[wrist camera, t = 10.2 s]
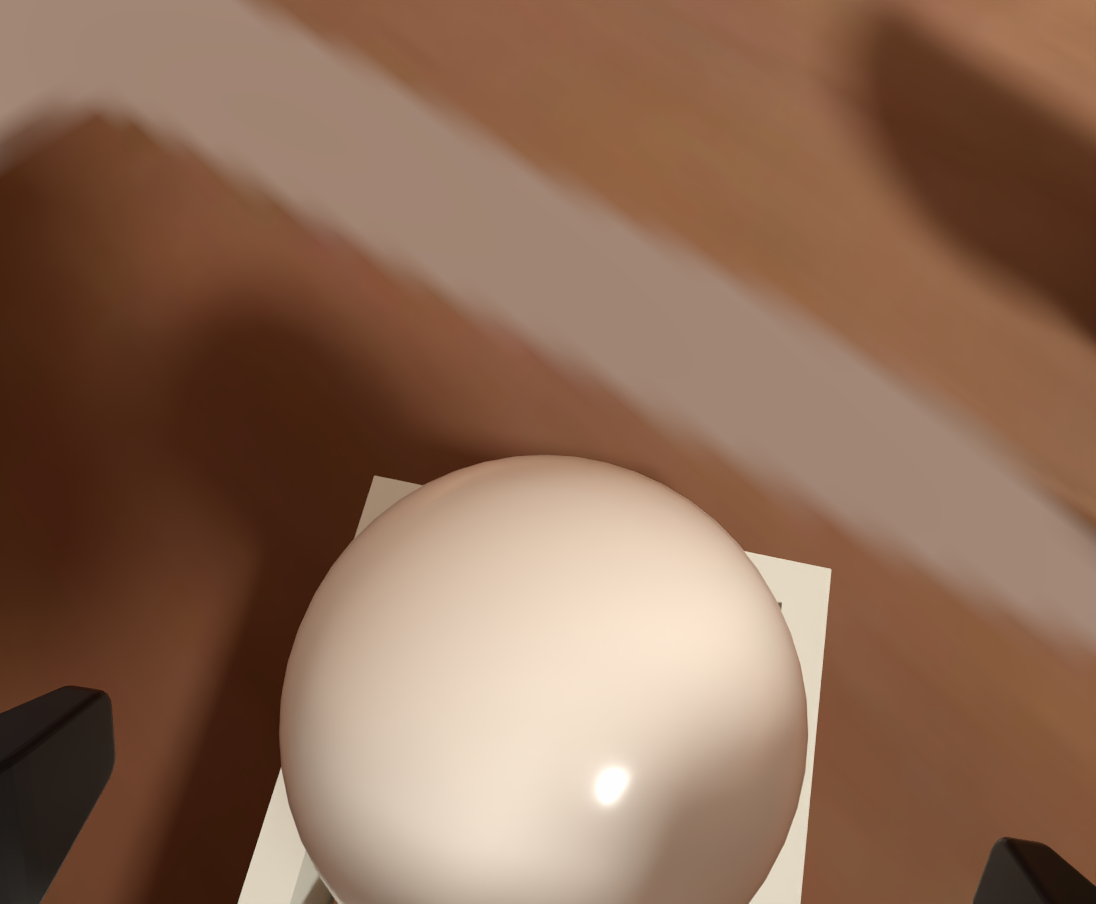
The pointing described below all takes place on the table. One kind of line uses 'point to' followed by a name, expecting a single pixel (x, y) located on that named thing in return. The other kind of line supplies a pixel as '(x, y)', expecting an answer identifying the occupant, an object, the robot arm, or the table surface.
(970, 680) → the table surface
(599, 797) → the cream capsule cylinder
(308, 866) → the compartment tray
